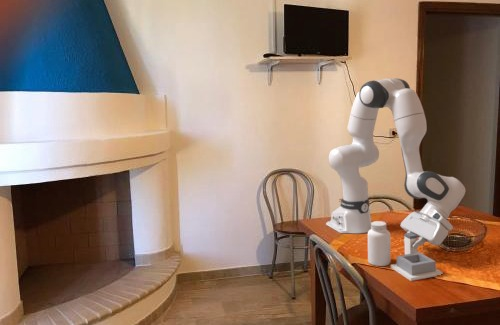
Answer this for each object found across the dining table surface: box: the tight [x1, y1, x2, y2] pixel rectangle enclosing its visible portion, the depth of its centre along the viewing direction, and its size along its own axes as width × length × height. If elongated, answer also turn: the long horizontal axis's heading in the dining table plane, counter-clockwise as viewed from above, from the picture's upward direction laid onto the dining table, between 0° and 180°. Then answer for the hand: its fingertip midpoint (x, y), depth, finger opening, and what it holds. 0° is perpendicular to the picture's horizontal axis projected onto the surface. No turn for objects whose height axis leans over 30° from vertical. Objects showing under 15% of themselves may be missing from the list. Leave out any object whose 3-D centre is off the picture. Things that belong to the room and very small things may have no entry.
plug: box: [403, 232, 418, 255], centre depth 161 cm, size 4×3×9 cm
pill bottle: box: [367, 220, 392, 267], centre depth 158 cm, size 8×8×15 cm
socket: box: [390, 251, 444, 282], centre depth 149 cm, size 12×12×4 cm
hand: (409, 245), depth 160 cm, fingers closed on plug, 3 cm apart
